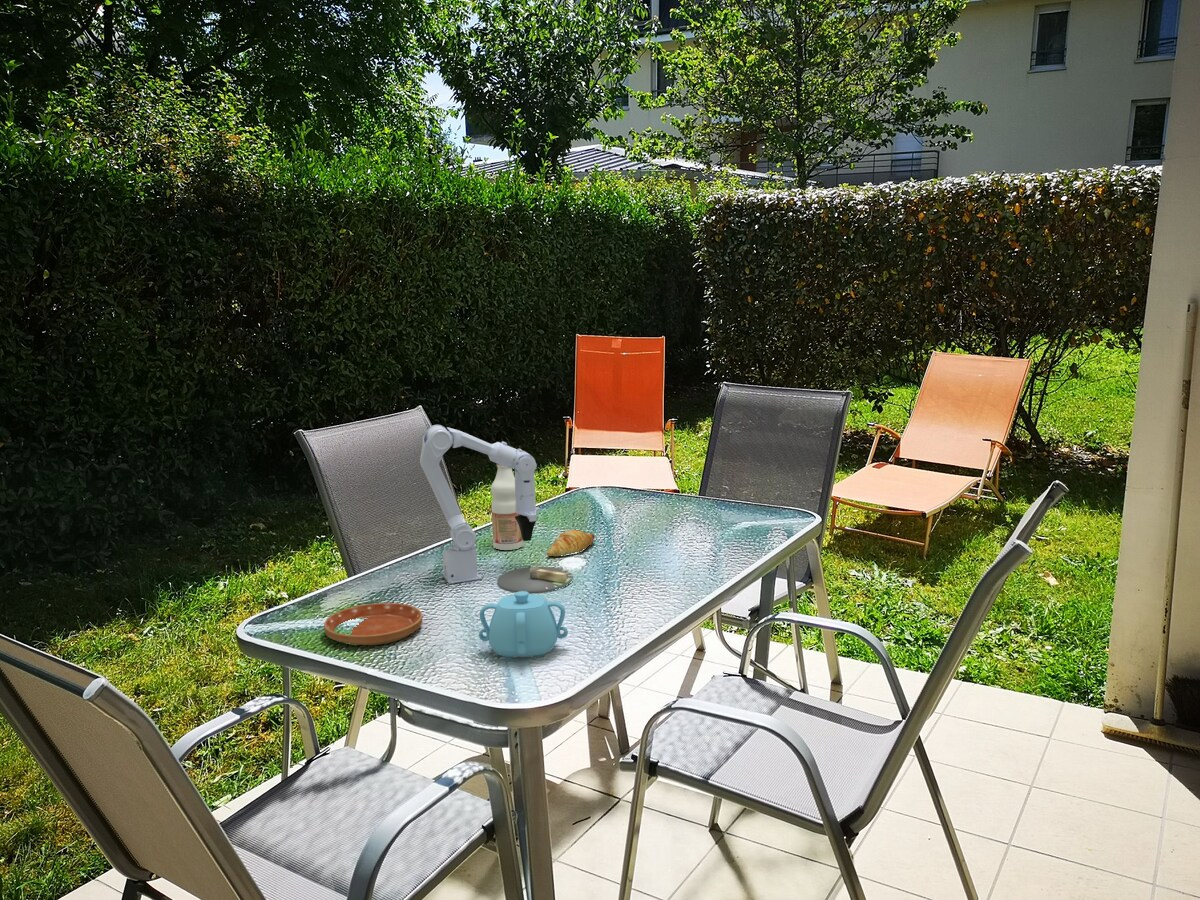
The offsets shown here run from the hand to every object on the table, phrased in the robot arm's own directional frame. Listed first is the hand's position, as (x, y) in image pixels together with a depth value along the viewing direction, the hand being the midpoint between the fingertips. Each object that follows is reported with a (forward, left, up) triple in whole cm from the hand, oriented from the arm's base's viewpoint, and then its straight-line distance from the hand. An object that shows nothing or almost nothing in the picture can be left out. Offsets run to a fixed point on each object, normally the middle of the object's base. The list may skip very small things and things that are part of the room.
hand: (526, 540), depth 261 cm
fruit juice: (+2, +26, -9) cm, 27 cm away
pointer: (+1, -14, -8) cm, 16 cm away
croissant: (+18, +13, -9) cm, 24 cm away
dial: (-1, -10, -9) cm, 14 cm away
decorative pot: (-19, -56, -9) cm, 60 cm away
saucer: (-48, -29, -10) cm, 57 cm away
